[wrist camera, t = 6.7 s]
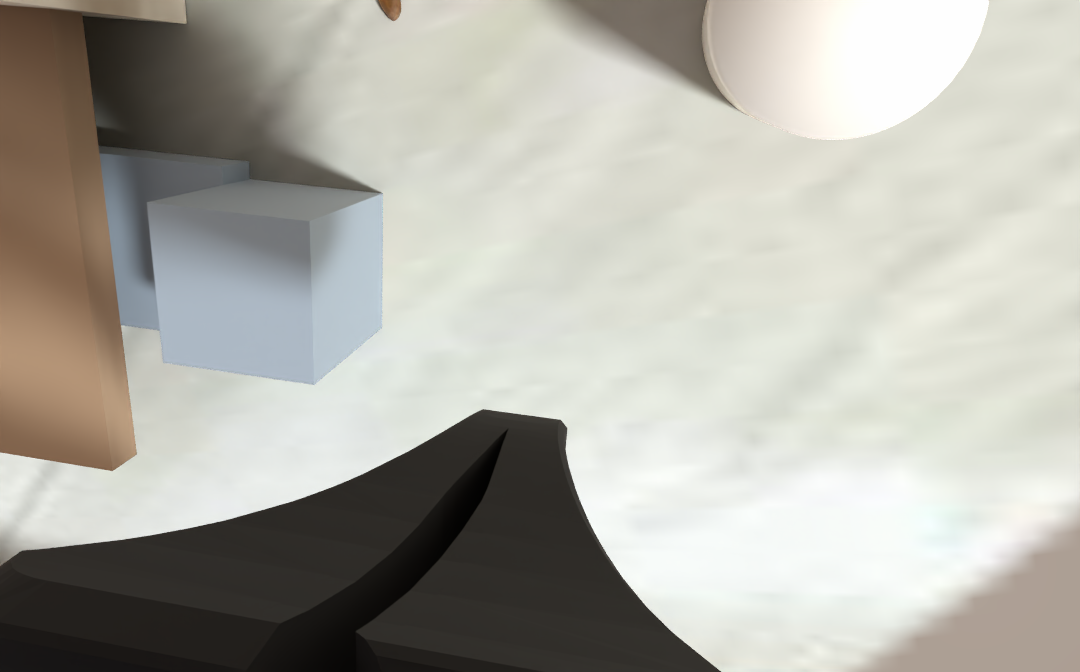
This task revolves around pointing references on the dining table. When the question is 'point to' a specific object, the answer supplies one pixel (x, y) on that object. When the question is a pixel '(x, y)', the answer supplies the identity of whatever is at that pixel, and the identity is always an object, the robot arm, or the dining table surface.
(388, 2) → the hand saw
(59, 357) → the plinth shelf
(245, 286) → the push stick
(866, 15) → the white rounded cylinder
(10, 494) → the dining table surface
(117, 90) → the dining table surface
